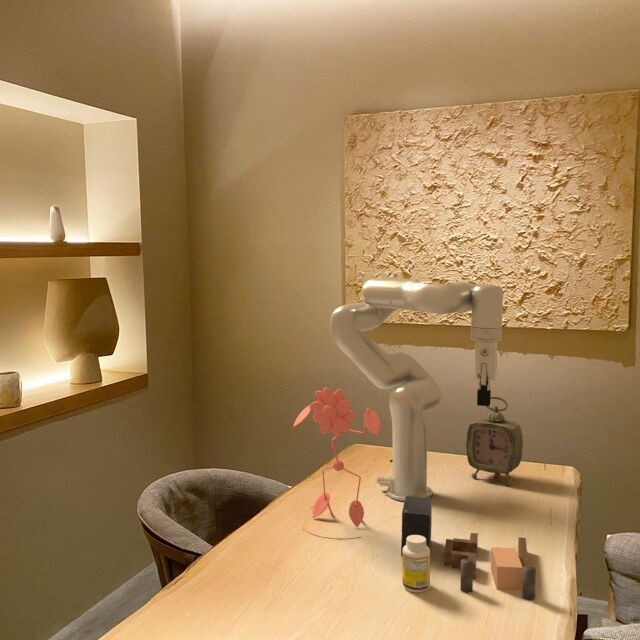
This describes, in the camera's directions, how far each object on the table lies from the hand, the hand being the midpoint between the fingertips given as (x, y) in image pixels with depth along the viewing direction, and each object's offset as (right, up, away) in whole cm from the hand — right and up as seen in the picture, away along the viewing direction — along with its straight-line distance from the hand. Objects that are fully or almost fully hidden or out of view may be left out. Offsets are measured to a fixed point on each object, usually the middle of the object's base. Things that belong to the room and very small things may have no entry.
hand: (483, 405), depth 175 cm
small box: (-19, -31, -17) cm, 41 cm away
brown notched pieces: (-6, -32, -28) cm, 43 cm away
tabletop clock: (+10, -26, +28) cm, 40 cm away
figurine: (-39, -30, -4) cm, 49 cm away
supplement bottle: (-22, -33, -35) cm, 53 cm away
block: (-3, -32, -32) cm, 46 cm away
